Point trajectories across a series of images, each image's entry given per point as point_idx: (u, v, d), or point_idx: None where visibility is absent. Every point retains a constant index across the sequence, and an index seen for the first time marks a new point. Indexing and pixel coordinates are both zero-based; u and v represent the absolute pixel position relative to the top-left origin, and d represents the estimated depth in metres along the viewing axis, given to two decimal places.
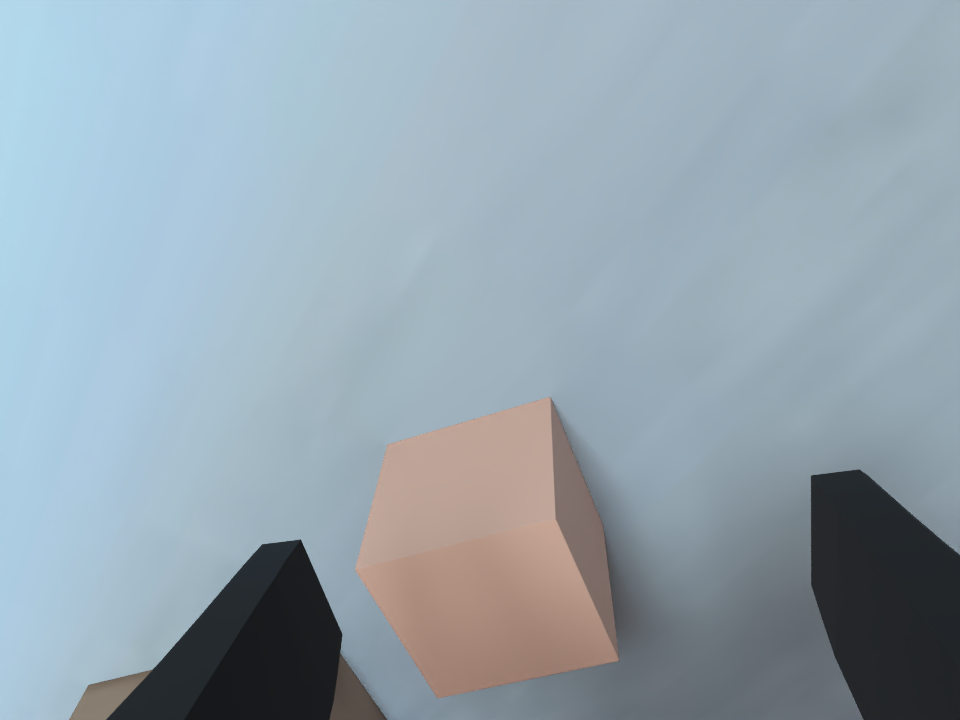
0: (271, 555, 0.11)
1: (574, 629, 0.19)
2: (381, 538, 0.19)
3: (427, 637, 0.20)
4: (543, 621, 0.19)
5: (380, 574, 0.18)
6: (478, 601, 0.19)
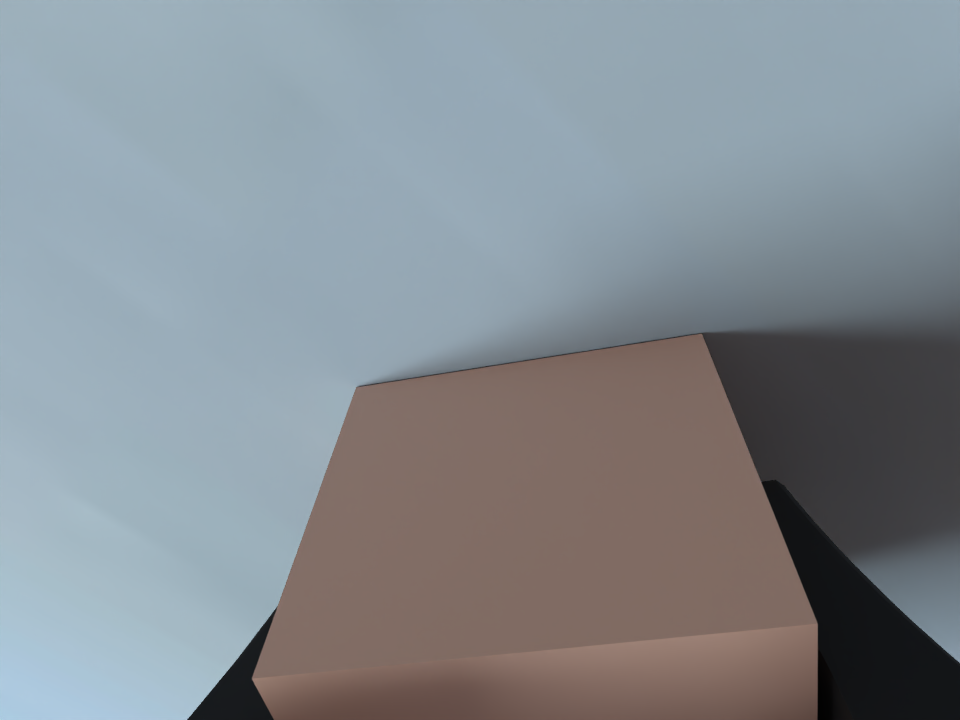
0: None
1: (651, 693, 0.07)
2: None
3: None
4: None
5: None
6: None
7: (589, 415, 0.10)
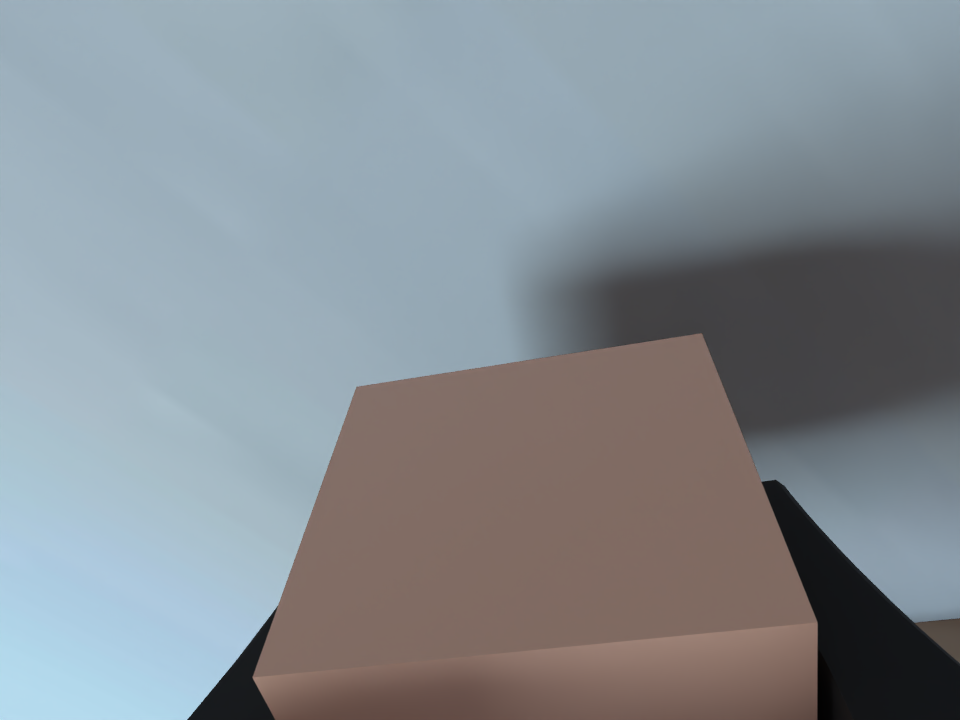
0: None
1: (651, 693, 0.07)
2: None
3: None
4: None
5: None
6: None
7: (589, 414, 0.10)
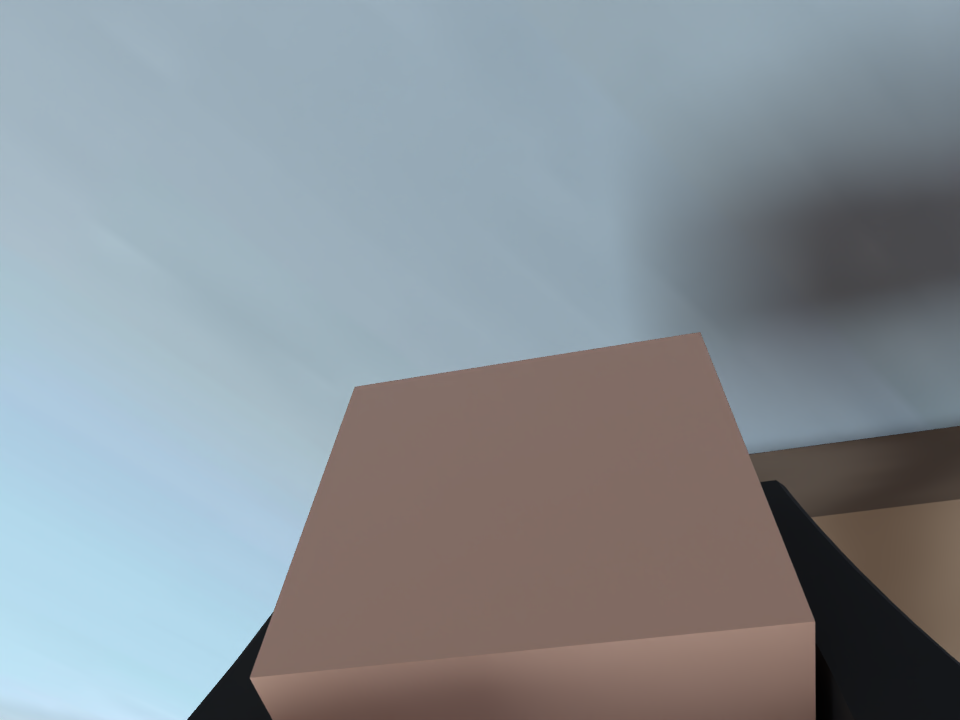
0: None
1: (649, 692, 0.07)
2: None
3: None
4: None
5: None
6: None
7: (587, 414, 0.10)
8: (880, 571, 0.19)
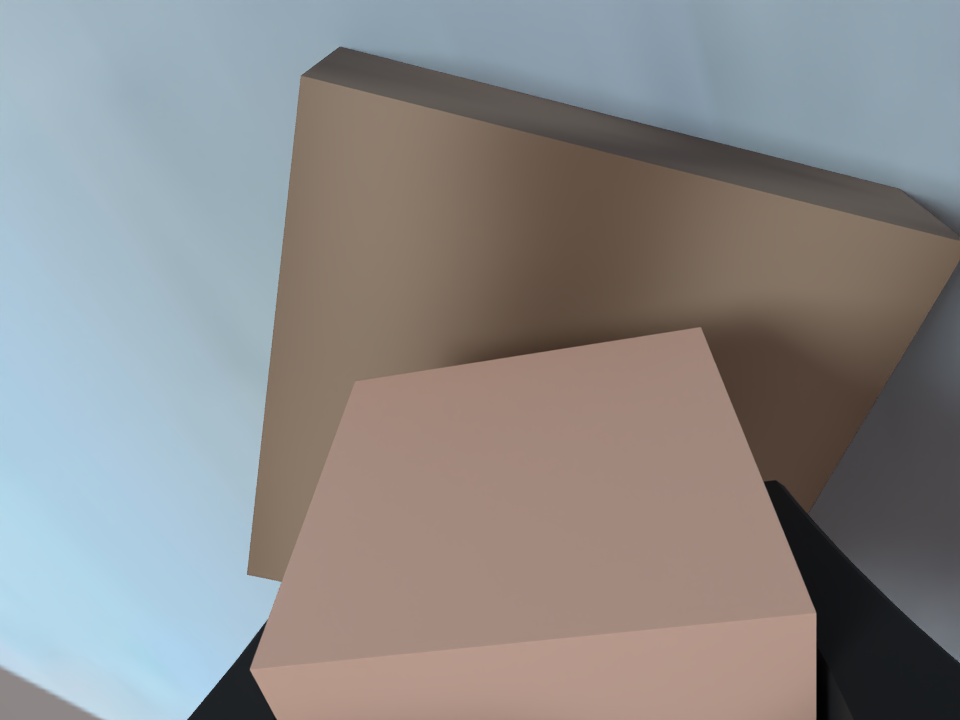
0: None
1: (651, 685, 0.07)
2: None
3: None
4: None
5: None
6: None
7: (588, 408, 0.10)
8: (578, 278, 0.12)
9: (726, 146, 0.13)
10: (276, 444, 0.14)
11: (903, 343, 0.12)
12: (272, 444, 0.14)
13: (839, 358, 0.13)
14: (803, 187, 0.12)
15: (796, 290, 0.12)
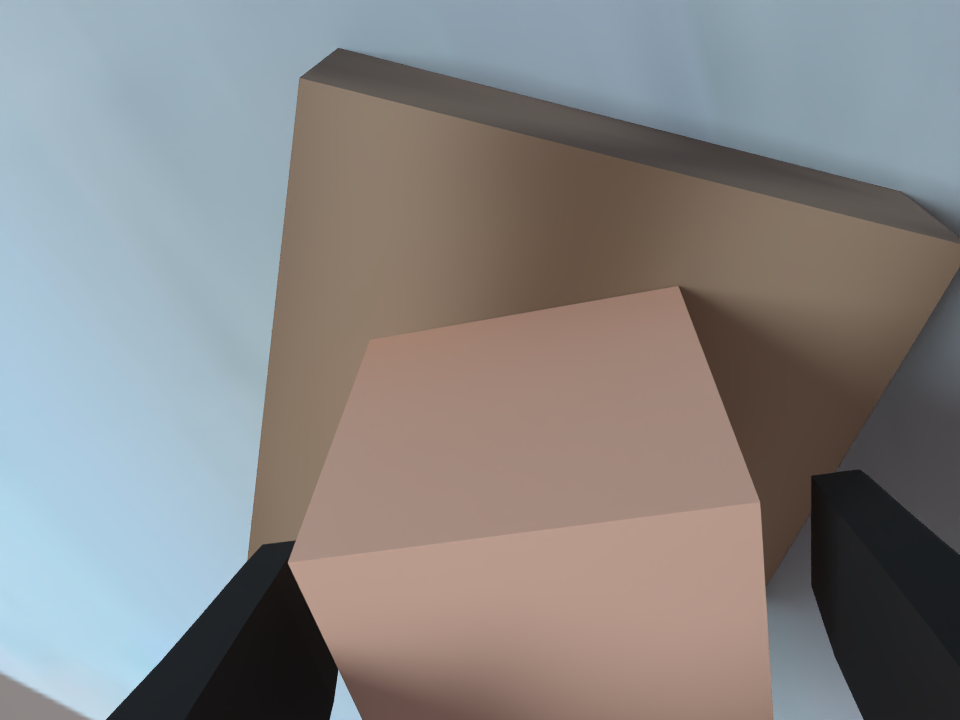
0: (272, 555, 0.11)
1: (624, 570, 0.08)
2: None
3: None
4: (588, 616, 0.09)
5: None
6: (508, 698, 0.09)
7: (576, 354, 0.11)
8: (579, 280, 0.12)
9: (727, 148, 0.13)
10: (275, 447, 0.14)
11: (904, 346, 0.12)
12: (271, 447, 0.14)
13: (840, 361, 0.12)
14: (804, 190, 0.12)
15: (797, 294, 0.12)
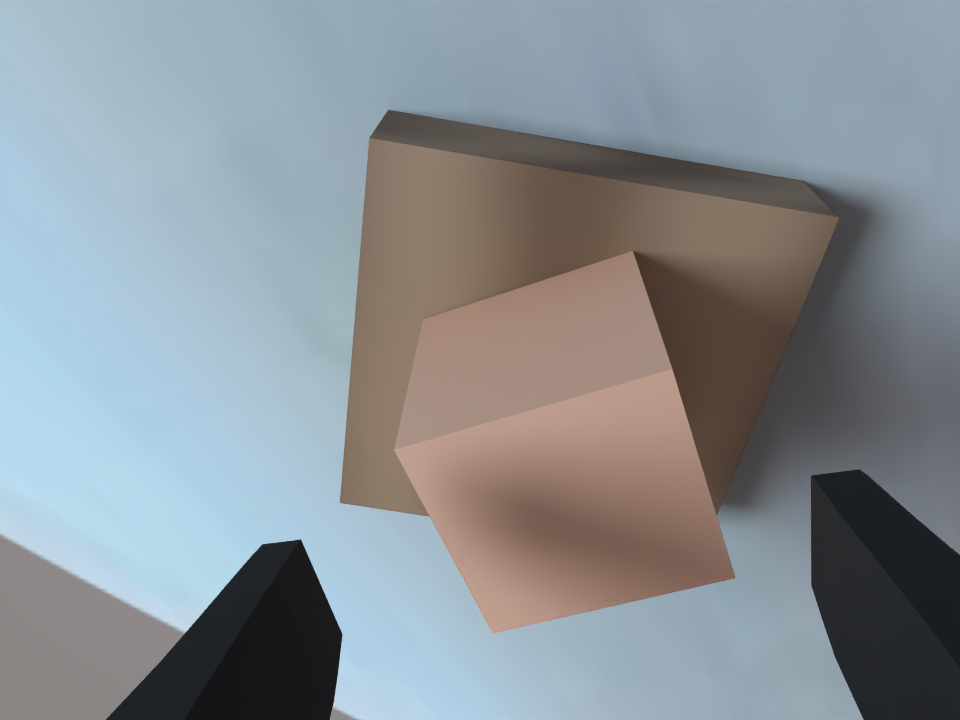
0: (272, 555, 0.11)
1: (600, 427, 0.13)
2: None
3: (610, 580, 0.15)
4: (584, 461, 0.14)
5: (499, 613, 0.16)
6: (544, 528, 0.15)
7: (564, 305, 0.16)
8: (568, 261, 0.17)
9: (671, 159, 0.18)
10: (359, 399, 0.19)
11: (804, 291, 0.17)
12: (356, 399, 0.19)
13: (759, 305, 0.17)
14: (723, 186, 0.17)
15: (722, 259, 0.17)
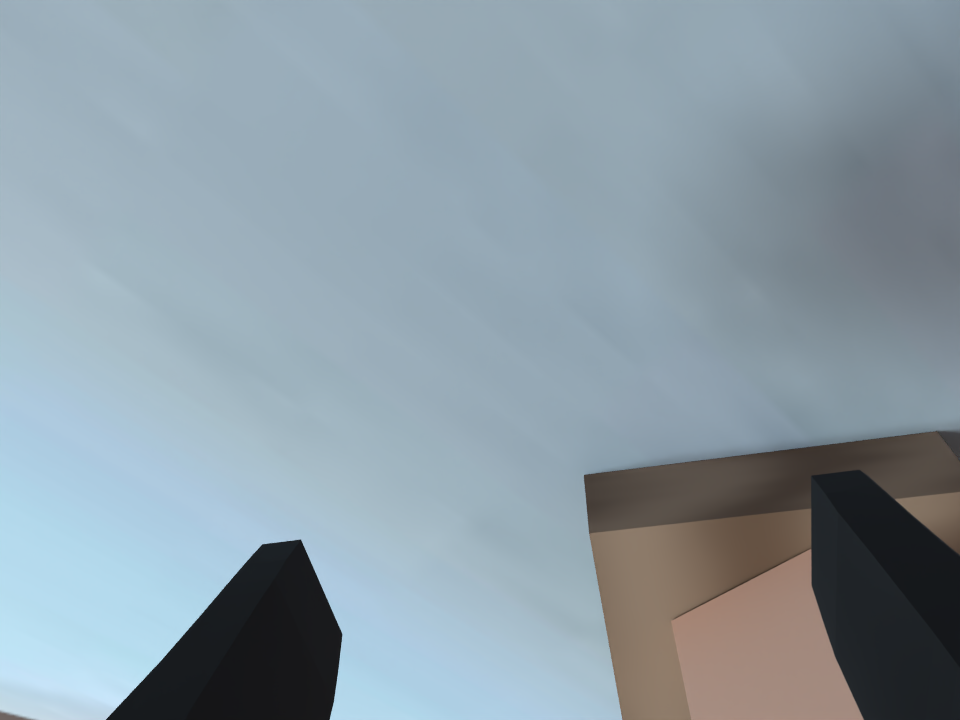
0: (271, 555, 0.11)
1: None
2: None
3: None
4: None
5: None
6: None
7: (788, 613, 0.20)
8: (764, 567, 0.22)
9: (818, 448, 0.22)
10: (625, 685, 0.24)
11: None
12: (623, 686, 0.24)
13: None
14: (872, 477, 0.21)
15: None
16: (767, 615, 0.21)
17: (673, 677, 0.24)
